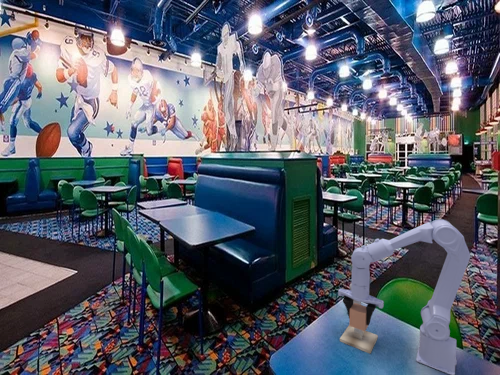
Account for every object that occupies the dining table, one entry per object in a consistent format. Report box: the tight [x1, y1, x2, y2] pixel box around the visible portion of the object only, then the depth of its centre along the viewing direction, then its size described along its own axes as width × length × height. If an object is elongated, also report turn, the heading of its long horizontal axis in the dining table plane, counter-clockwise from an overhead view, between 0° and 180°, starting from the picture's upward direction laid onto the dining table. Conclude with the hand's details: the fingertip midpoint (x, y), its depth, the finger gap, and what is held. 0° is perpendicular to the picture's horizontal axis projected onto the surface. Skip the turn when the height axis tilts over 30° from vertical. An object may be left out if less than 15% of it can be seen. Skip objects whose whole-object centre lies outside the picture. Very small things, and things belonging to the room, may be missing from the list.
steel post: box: [354, 328, 364, 340], centre depth 91 cm, size 3×3×5 cm
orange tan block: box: [348, 303, 369, 331], centre depth 90 cm, size 5×5×6 cm
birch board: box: [339, 325, 379, 355], centre depth 91 cm, size 10×10×1 cm
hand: (359, 320), depth 90 cm, fingers closed on orange tan block, 5 cm apart
